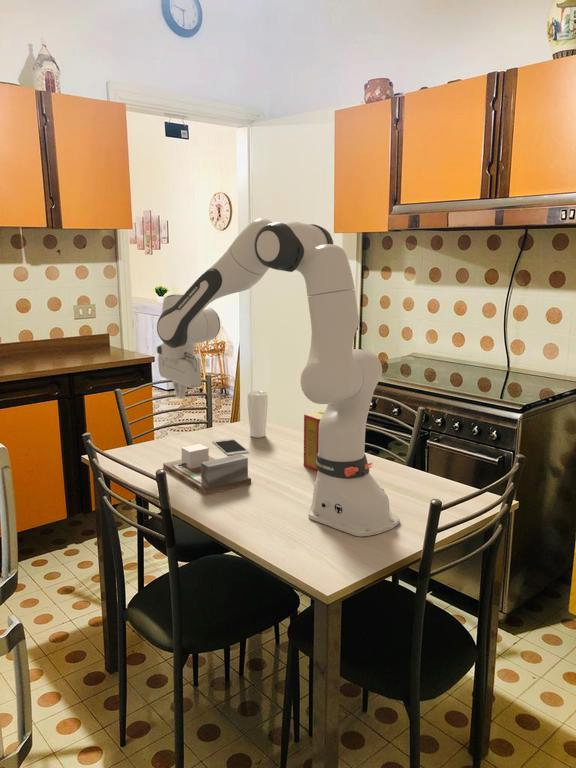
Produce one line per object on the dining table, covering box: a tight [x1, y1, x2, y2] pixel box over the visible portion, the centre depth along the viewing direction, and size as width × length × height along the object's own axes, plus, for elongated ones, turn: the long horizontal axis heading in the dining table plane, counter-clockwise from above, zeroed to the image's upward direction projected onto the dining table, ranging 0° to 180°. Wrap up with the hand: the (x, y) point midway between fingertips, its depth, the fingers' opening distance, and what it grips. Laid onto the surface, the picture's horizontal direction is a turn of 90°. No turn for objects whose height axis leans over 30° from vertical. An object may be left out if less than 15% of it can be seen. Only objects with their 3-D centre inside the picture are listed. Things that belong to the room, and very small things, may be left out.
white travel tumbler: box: [247, 390, 269, 439], centre depth 213 cm, size 7×7×15 cm
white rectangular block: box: [178, 443, 210, 469], centre depth 180 cm, size 5×8×5 cm, turn 127°
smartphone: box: [212, 437, 250, 457], centre depth 202 cm, size 7×16×1 cm, turn 25°
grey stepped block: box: [162, 454, 252, 496], centre depth 176 cm, size 25×14×8 cm, turn 36°
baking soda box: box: [303, 410, 325, 473], centre depth 184 cm, size 10×6×16 cm
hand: (180, 397), depth 184 cm, fingers closed
